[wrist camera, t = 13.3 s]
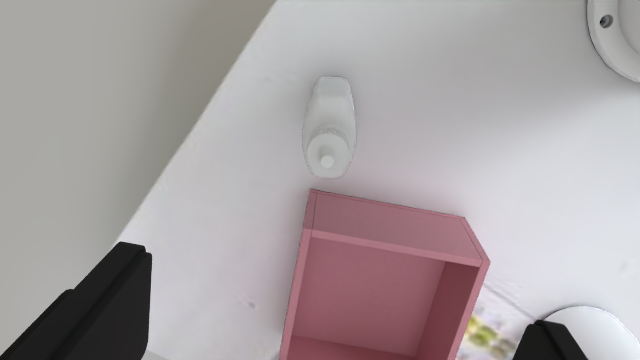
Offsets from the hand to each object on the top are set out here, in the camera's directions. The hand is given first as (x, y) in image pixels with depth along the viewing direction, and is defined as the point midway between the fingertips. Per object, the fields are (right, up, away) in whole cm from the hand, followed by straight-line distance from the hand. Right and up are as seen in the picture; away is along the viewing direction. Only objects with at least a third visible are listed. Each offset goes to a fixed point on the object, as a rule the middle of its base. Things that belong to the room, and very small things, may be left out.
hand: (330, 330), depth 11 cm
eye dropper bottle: (+1, +9, +25) cm, 26 cm away
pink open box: (+4, -5, +30) cm, 30 cm away
